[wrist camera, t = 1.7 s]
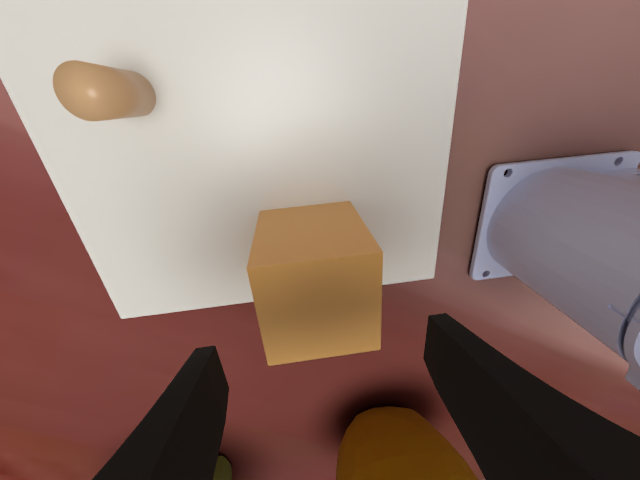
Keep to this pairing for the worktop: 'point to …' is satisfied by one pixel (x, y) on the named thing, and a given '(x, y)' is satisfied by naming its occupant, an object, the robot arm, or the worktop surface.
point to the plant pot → (222, 469)
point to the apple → (397, 449)
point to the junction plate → (234, 128)
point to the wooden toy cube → (316, 282)
